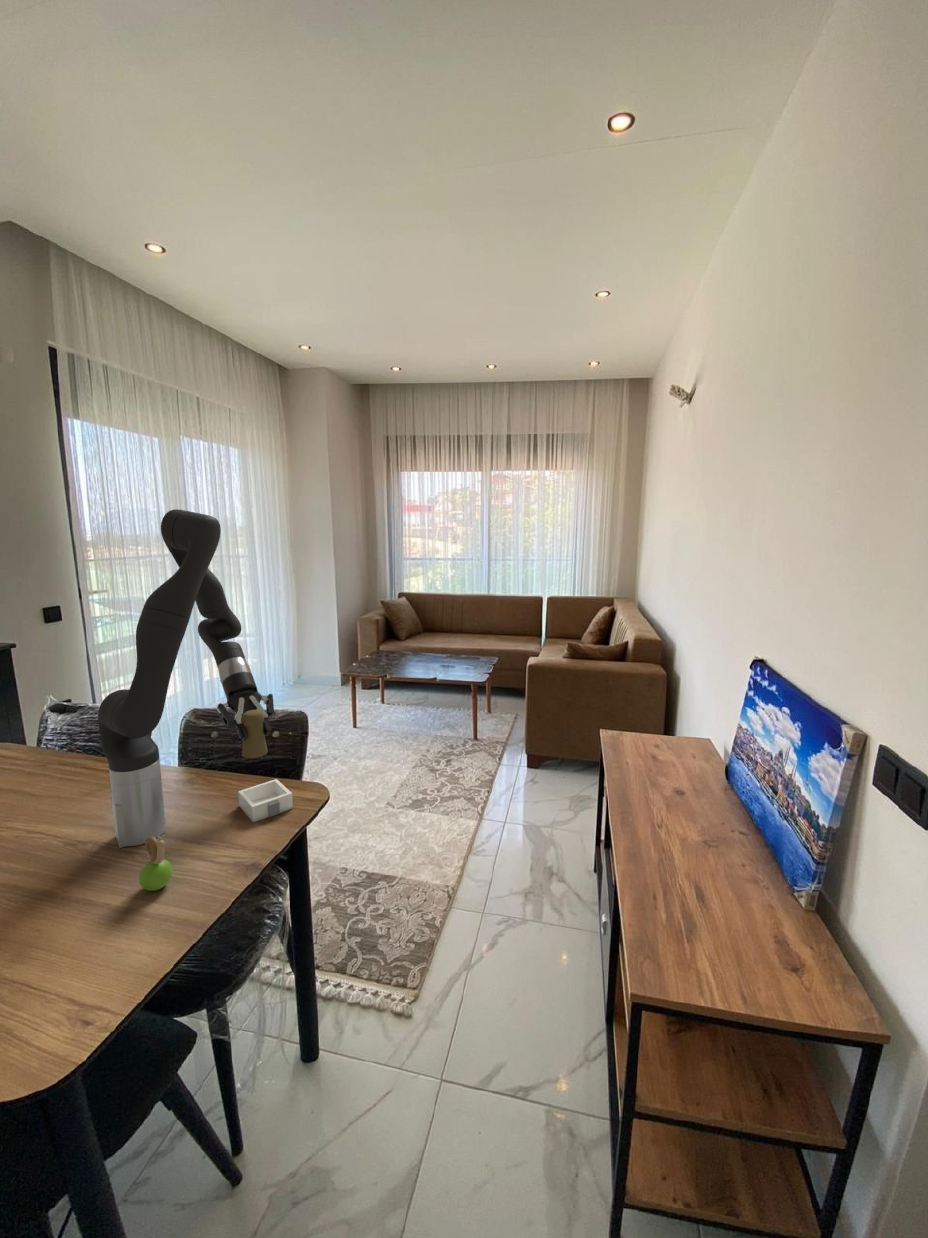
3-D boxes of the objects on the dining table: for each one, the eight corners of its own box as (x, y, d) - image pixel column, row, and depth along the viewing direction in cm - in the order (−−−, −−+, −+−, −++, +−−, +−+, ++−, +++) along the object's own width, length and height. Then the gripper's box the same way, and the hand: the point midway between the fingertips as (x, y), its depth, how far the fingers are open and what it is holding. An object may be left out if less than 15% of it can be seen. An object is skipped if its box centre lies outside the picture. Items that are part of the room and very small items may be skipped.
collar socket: (254, 824, 114) (253, 809, 113) (239, 806, 122) (238, 791, 121) (294, 809, 120) (293, 794, 120) (277, 793, 128) (276, 778, 127)
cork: (258, 759, 119) (256, 716, 118) (236, 757, 120) (233, 714, 119) (272, 749, 125) (270, 708, 124) (251, 747, 126) (249, 706, 125)
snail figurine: (152, 903, 89) (145, 844, 87) (134, 890, 92) (128, 832, 90) (182, 886, 94) (177, 829, 92) (164, 874, 97) (159, 818, 95)
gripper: (210, 675, 120) (229, 736, 113) (268, 666, 130) (289, 722, 123) (204, 691, 125) (223, 750, 118) (261, 681, 135) (280, 735, 128)
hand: (256, 735), depth 121 cm, fingers closed on cork, 5 cm apart
